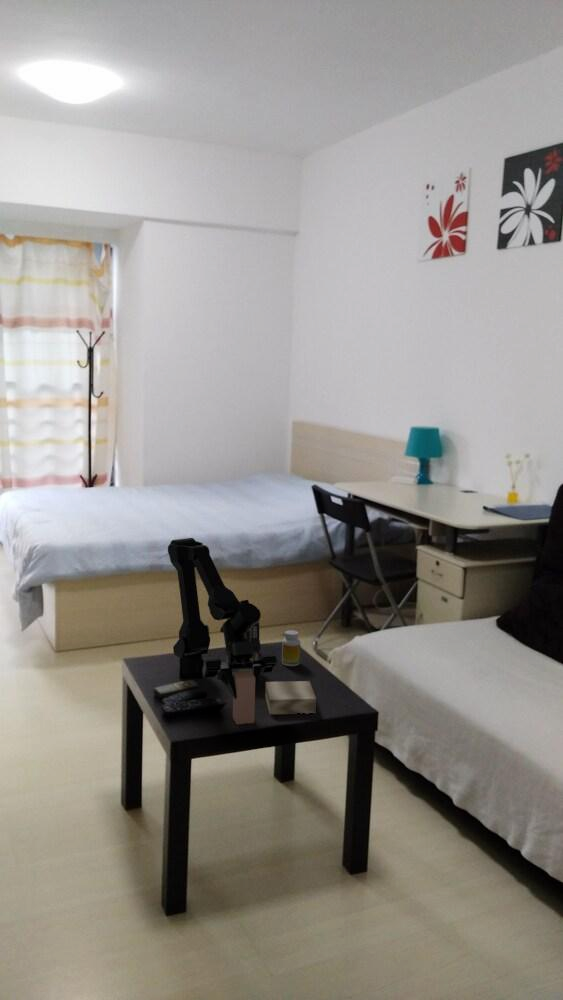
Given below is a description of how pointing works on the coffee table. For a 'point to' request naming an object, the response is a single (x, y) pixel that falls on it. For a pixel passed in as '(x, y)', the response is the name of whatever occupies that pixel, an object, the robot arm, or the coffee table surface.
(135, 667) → the coffee table surface
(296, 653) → the supplement bottle
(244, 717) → the tower block
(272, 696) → the base brick
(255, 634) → the coffee box
